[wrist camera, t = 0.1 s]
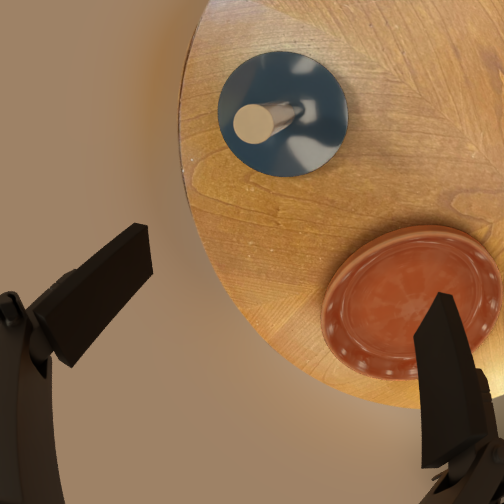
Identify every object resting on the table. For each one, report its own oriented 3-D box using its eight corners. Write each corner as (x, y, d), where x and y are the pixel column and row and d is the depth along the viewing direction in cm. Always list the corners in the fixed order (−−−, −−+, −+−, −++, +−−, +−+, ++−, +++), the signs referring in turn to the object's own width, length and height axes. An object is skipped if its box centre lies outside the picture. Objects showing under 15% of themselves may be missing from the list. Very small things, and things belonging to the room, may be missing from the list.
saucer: (354, 375, 40) (352, 394, 37) (292, 257, 33) (286, 275, 30) (492, 335, 30) (499, 353, 27) (481, 188, 22) (496, 201, 19)
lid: (226, 50, 23) (171, 35, 15) (355, 63, 21) (365, 45, 12) (218, 164, 30) (168, 198, 21) (336, 185, 27) (333, 230, 19)
